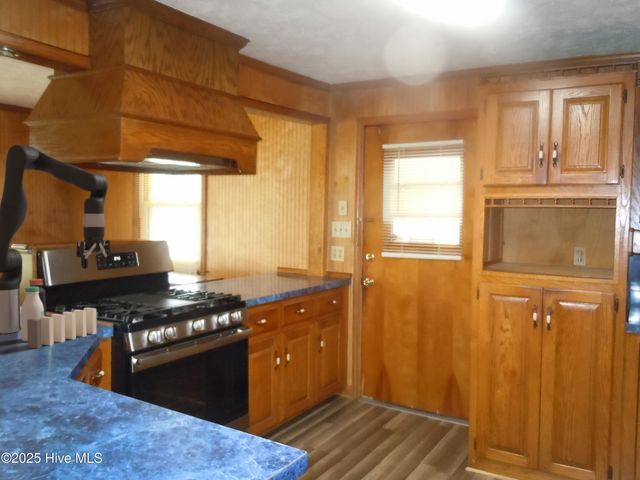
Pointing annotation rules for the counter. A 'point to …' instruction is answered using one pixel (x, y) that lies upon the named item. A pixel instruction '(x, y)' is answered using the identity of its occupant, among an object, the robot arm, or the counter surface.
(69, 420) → the counter surface
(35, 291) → the milk bottle
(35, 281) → the vinegar
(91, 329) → the domino
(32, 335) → the domino
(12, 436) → the counter surface
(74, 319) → the domino
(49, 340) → the domino
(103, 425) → the counter surface
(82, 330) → the domino
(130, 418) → the counter surface
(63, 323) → the domino
